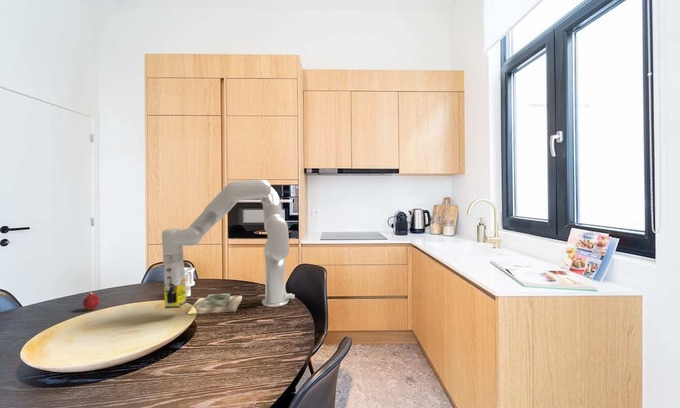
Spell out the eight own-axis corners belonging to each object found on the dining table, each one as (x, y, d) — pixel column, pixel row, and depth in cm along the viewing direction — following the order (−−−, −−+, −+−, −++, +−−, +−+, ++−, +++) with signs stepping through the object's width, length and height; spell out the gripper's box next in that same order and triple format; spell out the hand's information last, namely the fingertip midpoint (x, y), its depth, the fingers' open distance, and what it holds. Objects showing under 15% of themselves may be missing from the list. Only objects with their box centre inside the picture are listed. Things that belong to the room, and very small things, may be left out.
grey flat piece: (241, 298, 143) (241, 290, 143) (235, 311, 127) (235, 302, 127) (199, 301, 139) (199, 293, 139) (187, 314, 124) (187, 305, 123)
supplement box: (178, 308, 118) (177, 282, 118) (164, 308, 118) (163, 282, 118) (186, 302, 124) (185, 278, 124) (173, 303, 124) (171, 278, 124)
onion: (103, 307, 131) (103, 290, 131) (91, 312, 126) (91, 294, 125) (92, 307, 132) (91, 290, 132) (79, 312, 126) (79, 294, 126)
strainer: (176, 297, 145) (175, 268, 145) (187, 292, 152) (187, 265, 152) (187, 298, 143) (186, 269, 143) (197, 294, 150) (197, 265, 150)
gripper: (174, 262, 112) (177, 306, 113) (190, 253, 130) (192, 291, 130) (154, 263, 111) (156, 308, 112) (172, 254, 128) (174, 293, 129)
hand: (175, 299), depth 121 cm, fingers closed on supplement box, 6 cm apart
